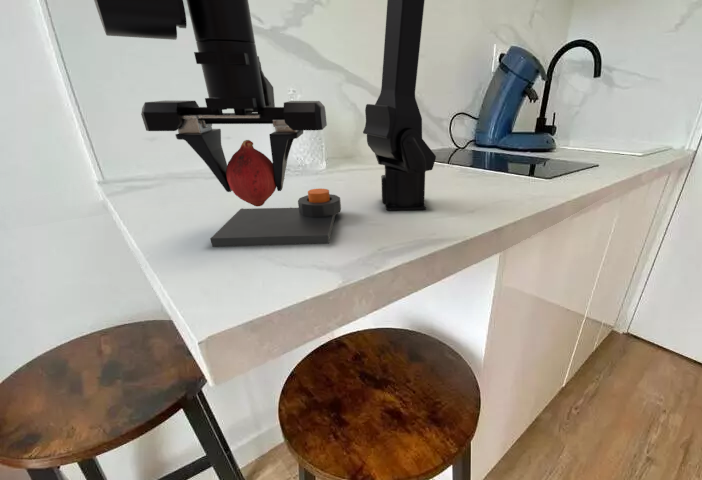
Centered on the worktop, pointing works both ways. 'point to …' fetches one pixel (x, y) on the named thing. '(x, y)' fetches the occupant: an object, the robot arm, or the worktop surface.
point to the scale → (280, 225)
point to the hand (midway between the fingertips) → (255, 190)
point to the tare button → (318, 195)
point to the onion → (251, 175)
